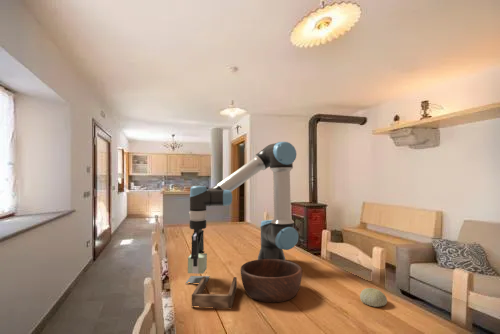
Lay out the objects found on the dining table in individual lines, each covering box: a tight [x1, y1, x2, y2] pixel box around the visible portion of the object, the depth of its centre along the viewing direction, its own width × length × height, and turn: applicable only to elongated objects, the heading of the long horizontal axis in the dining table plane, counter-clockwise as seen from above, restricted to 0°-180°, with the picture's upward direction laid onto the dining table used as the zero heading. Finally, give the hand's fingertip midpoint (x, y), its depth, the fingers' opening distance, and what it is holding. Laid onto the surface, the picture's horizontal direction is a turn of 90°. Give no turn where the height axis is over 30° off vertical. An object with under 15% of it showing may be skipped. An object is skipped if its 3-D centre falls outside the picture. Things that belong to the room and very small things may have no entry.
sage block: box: [187, 252, 208, 275], centre depth 131 cm, size 7×7×7 cm
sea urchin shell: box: [359, 287, 388, 308], centre depth 108 cm, size 9×8×8 cm
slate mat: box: [185, 275, 211, 284], centre depth 131 cm, size 9×9×1 cm
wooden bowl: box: [240, 259, 303, 303], centre depth 118 cm, size 25×25×10 cm
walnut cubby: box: [191, 276, 238, 309], centre depth 113 cm, size 14×19×4 cm
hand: (197, 270), depth 131 cm, fingers closed on sage block, 7 cm apart
